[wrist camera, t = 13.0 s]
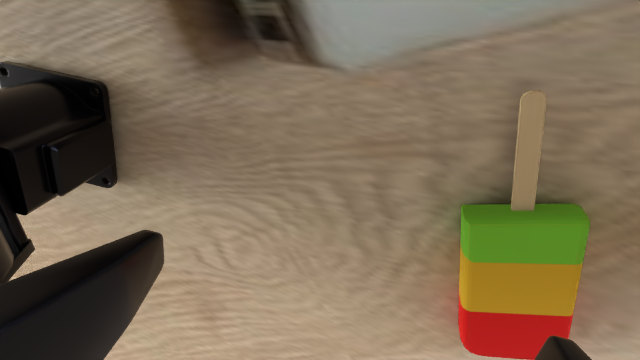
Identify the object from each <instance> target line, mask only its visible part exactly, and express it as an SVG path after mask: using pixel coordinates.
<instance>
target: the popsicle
mask: <svg viewBox="0 0 640 360" xmlns="http://www.w3.org/2000/svg"><path fill="white" fill-rule="evenodd" d="M546 104H547V97H546V95H545V94H544V93H543V92H542V91H528V92H526V93H524V94H523V95H522V97H521V99H520V108H519V119H518V131H517V142H516V153H515V165H514V176H513V187H512V199H511V204H481V205H461V240H460V276H459V313H458V324H459V331H460V338H461V341H462V343H463V345H464V347H465V348H466V349H467V350H468V351H470V352H471V353H474V354H477V355H481V356H488V357H501V358H515V359H529V360H534V359H535V357H536V356H537V354H538V353H539V351H540V349H541V348H542V346H543V344H544V343H545V341H546V340H547V338H548V337H550V336H553V335H555V336H559V337H563V338H567V339H568V338H569V333H570V327H571V322H572V317H573V312H574V306H575V301H576V296H577V291H578V285H579V280H580V275H581V269H582V264H583V259H584V254H585V248H586V243H587V238H588V232H589V227H590V220H589V218H588V216H587V214H586V213H585V212H584V210H583V209H582V208H581V207H580V206H579V205H577V204H535V198H536V190H537V181H538V173H539V164H540V155H541V147H542V138H543V130H544V121H545V113H546Z"/></svg>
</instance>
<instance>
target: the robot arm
mask: <svg viewBox="0 0 640 360" xmlns="http://www.w3.org/2000/svg"><path fill="white" fill-rule="evenodd" d="M7 71H8V72H7ZM95 88H96V89H97V90H98V92H99V94H98V93H97V92H96V90H95ZM107 178H108V179H109V181H108V180H107ZM83 183H89V184H93V185H97V186H101V187H105V188H111V187H112V186H114V185H115V184H116V183H117V171H116V162H115V152H114V143H113V133H112V124H111V115H110V106H109V96H108V90H107V88H106V86H105V85H104V84H103V83H102V82H100V81H96V80H92V79H87V78H82V77H78V76H73V75H69V74H64V73H60V72H55V71H50V70H46V69H41V68H37V67H32V66H27V65H23V64H18V63H14V62H9V61H6V62H1V63H0V360H104V358H105V357H106V356H107V354H108V353H109V351H110V350H111V349H112V347H113V346H114V345H115V343H116V342H117V341H118V339H119V338H120V336H121V335H122V334H123V332H124V331H125V329H126V328H127V327H128V325H129V324H130V322H131V321H132V319H133V317H134V316H135V314H136V312H137V311H138V309H139V307H140V305H141V304H142V302H143V300H144V299H145V297H146V295H147V293H148V292H149V290H150V288H151V287H152V285H153V283H154V282H155V280H156V278H157V276H158V275H159V273H160V271H161V269H162V267H163V264H164V247H163V237H162V235H161V234H160V233H157V232H154V231H150V230H142V231H140V232H137V233H134V234H132V235H129V236H126V237H124V238H121V239H119V240H116V241H113V242H111V243H108V244H105V245H103V246H100V247H98V248H95V249H92V250H90V251H87V252H84V253H82V254H79V255H76V256H74V257H71V258H69V259H66V260H63V261H61V262H58V263H55V264H53V265H50V266H48V267H45V268H42V269H40V270H37V271H34V272H32V273H29V274H27V275H24V276H21V277H19V278H16V279H13V280H11V281H9V279H10V278H11V277H12V276H13V275H14V274H15V272H16V271H17V270H18V269H19V268H20V266H21V265H22V264H23V263H24V262H25V261H26V259H27V258H28V257H29V256H30V255H31V253H32V252H33V251H34V250H35V248H34V246H33V243H32V241H31V239H28V238H27V236H26V234H25V231H24V229H23V227H22V225H21V223H20V221H19V219H18V216H17V214H21V215H27V214H29V213H30V212H32V211H34V210H35V209H37V208H38V207H40V206H42V205H43V204H45V203H47V202H48V201H50V200H52V199H53V198H55V197H56V196H64V195H66V194H67V193H69V192H70V191H72V190H74V189H75V188H77V187H78V186H80V185H82V184H83ZM16 213H17V214H16ZM534 360H592V359H591V358H590V357H589V356H588V355H587V354H586V353H585V352H584V351H583V350H582V349H581V348H580V347H579V346H578V345H577V344H576V343H575V342H573V341H572V340H570V339H567V338H563V337H559V336H555V335H553V336H550V337H548V338H547V340H546V341H545V343H544V344H543V346H542V348H541V349H540V351H539V353H538V354H537V356H536V357H535V359H534Z"/></svg>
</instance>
